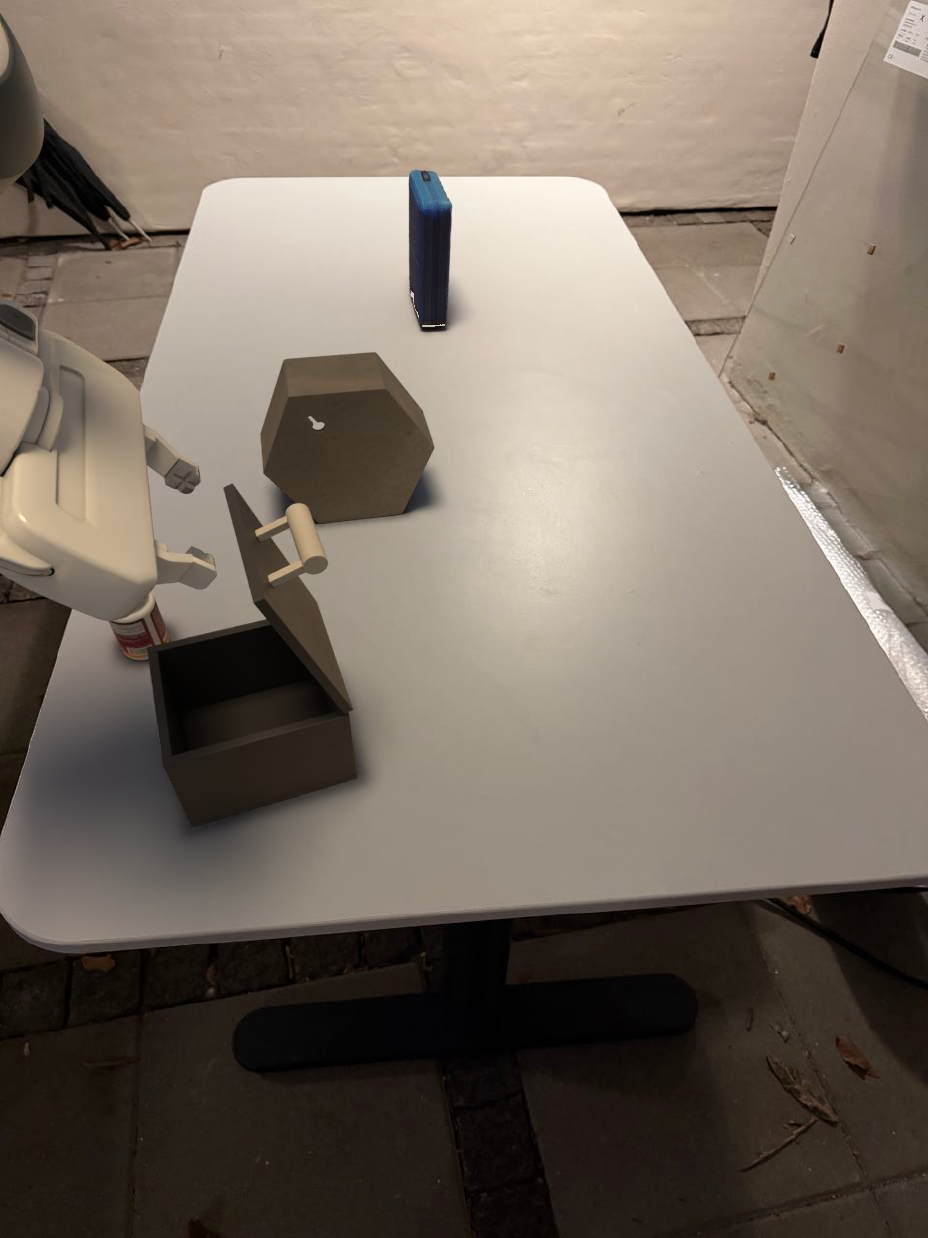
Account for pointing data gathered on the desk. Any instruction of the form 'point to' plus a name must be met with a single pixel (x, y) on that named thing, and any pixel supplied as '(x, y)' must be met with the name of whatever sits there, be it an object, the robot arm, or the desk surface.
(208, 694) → the dark wooden chest
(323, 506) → the brown hexagonal block
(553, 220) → the desk surface
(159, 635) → the pill bottle
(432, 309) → the blue hard case
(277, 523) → the brown box lid
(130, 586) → the robot arm
